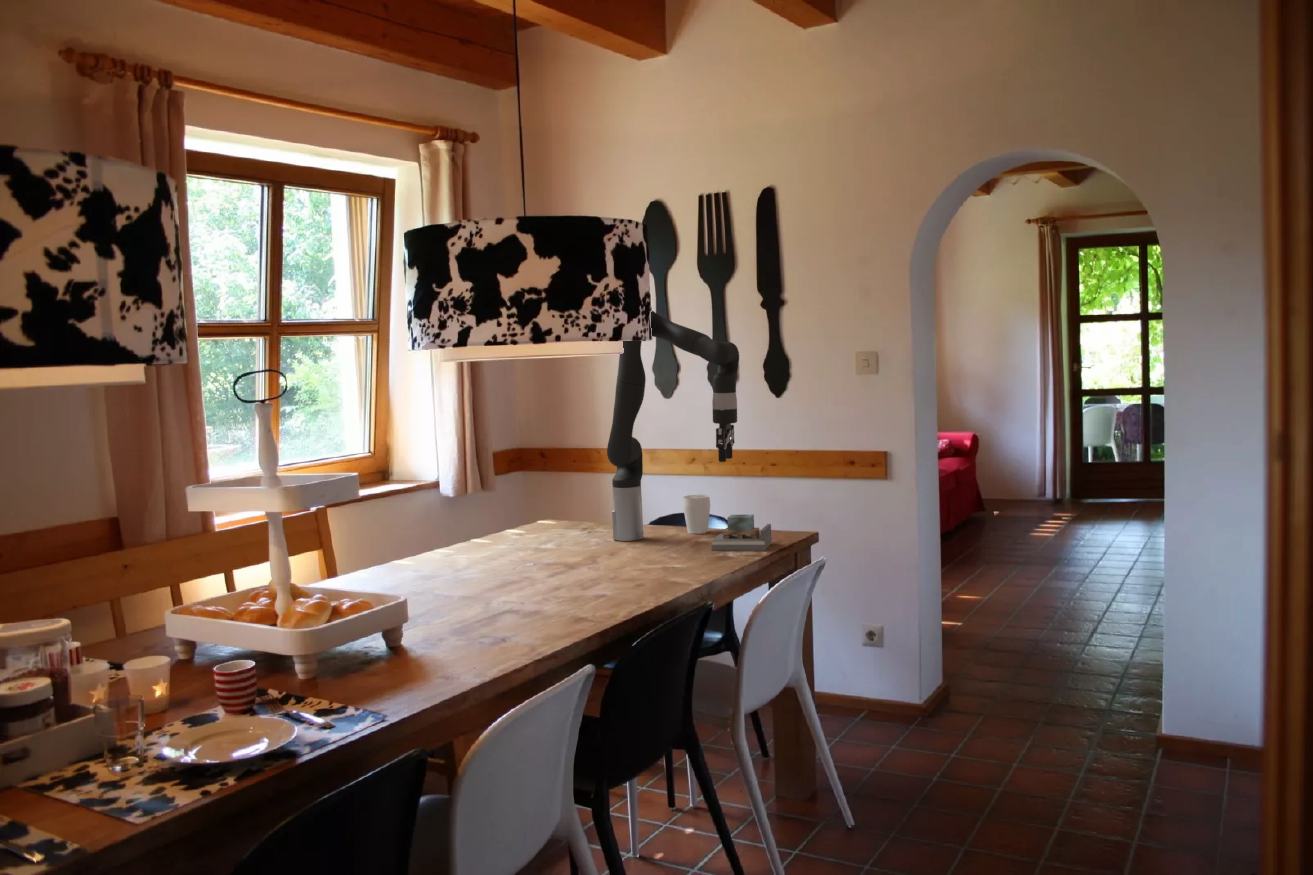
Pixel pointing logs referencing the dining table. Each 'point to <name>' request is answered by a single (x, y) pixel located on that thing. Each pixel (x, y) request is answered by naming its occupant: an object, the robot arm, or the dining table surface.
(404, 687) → the dining table surface
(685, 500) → the cup
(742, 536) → the pallet
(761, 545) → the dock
